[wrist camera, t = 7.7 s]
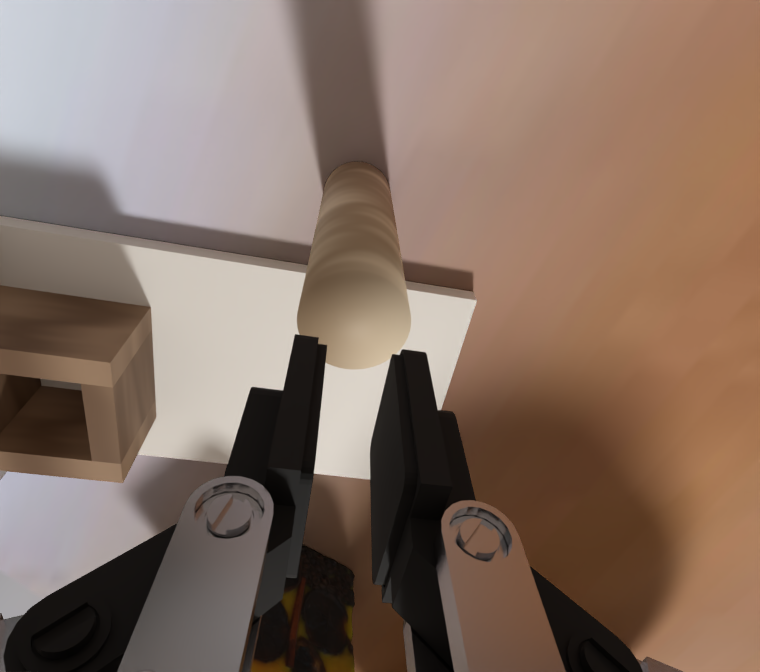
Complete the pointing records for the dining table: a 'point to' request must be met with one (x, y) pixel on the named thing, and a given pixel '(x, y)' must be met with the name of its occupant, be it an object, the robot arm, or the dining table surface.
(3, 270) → the board
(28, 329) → the brown square wooden frame
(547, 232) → the dining table surface
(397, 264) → the dowel
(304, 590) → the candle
